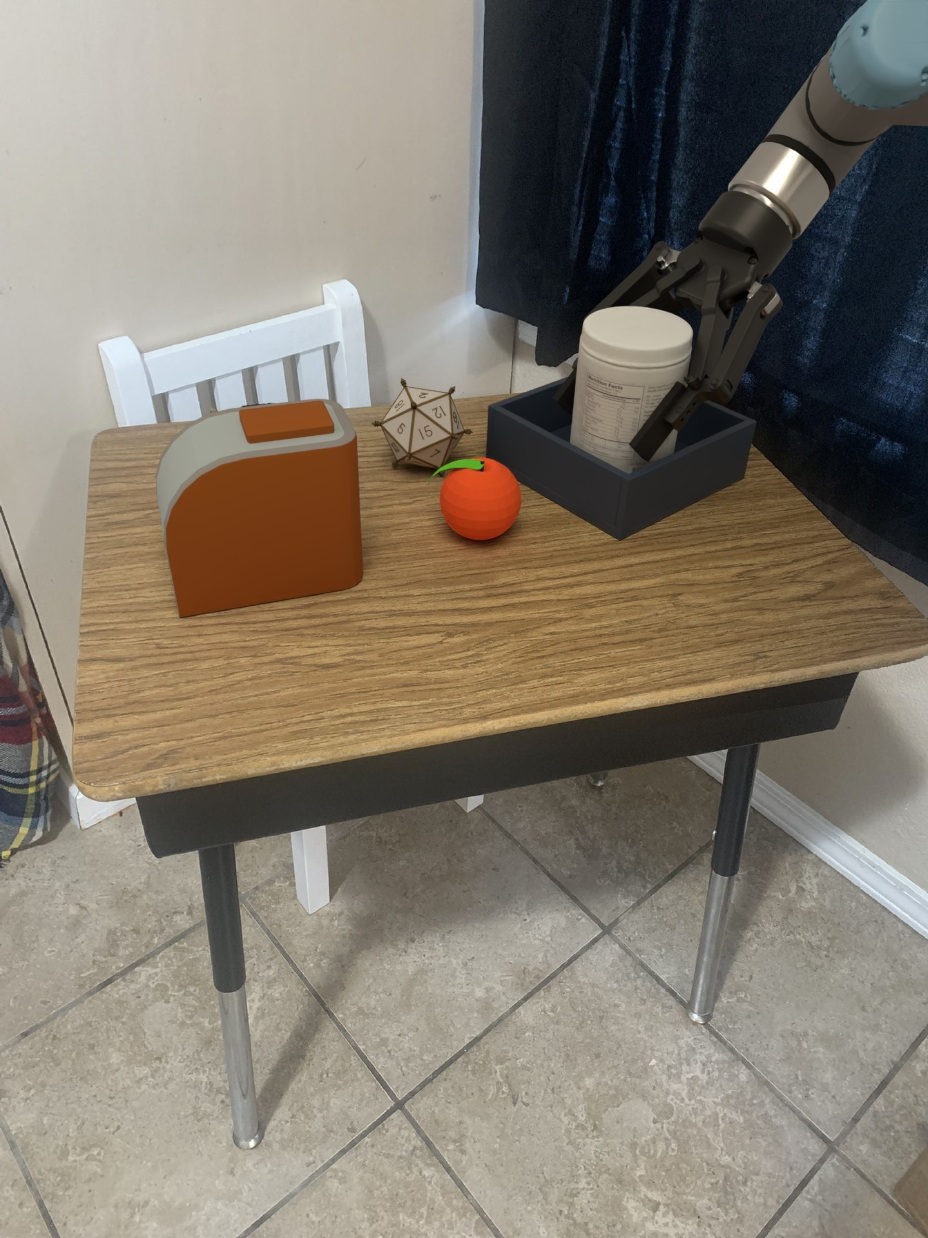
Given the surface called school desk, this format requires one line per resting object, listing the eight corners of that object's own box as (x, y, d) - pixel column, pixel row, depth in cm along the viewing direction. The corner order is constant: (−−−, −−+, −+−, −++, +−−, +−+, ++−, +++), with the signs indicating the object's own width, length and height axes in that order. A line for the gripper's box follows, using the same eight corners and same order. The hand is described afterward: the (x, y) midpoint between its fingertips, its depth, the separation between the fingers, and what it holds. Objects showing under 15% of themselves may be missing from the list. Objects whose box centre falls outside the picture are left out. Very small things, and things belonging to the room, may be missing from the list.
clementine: (421, 551, 83) (421, 477, 78) (432, 508, 88) (433, 437, 84) (516, 559, 82) (521, 485, 78) (521, 515, 87) (526, 444, 83)
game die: (404, 494, 97) (362, 399, 95) (483, 459, 97) (442, 363, 95) (401, 496, 88) (355, 392, 87) (488, 458, 88) (443, 353, 86)
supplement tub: (588, 444, 96) (605, 296, 87) (681, 467, 93) (709, 316, 84) (550, 488, 89) (564, 333, 80) (649, 515, 86) (676, 356, 77)
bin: (744, 477, 94) (757, 420, 90) (620, 540, 85) (629, 480, 81) (609, 412, 104) (615, 358, 100) (485, 461, 95) (487, 405, 91)
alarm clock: (344, 530, 85) (336, 384, 76) (368, 586, 78) (362, 433, 70) (168, 557, 81) (139, 406, 72) (179, 618, 74) (148, 460, 66)
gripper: (879, 280, 79) (706, 502, 82) (684, 211, 94) (542, 402, 96) (855, 222, 74) (669, 463, 76) (651, 158, 88) (501, 362, 90)
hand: (598, 429), depth 86 cm, fingers closed on supplement tub, 10 cm apart
